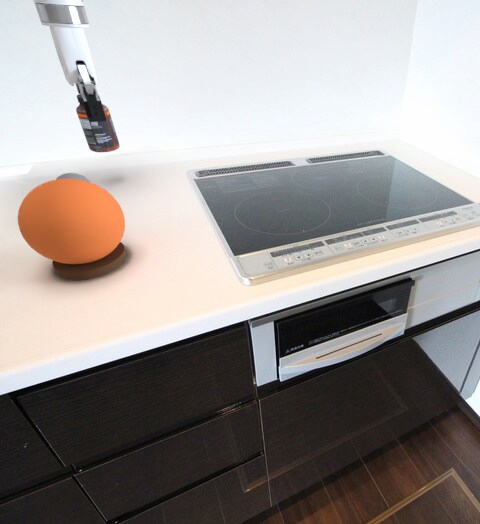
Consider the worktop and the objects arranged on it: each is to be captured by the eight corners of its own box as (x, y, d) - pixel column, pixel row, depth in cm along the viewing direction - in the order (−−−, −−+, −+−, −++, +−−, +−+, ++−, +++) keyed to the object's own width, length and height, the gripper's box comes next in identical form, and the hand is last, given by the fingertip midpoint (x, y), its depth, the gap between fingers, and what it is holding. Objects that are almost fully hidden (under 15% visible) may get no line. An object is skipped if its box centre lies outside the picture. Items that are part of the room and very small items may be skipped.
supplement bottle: (112, 143, 85) (96, 91, 79) (125, 149, 83) (110, 95, 76) (84, 148, 81) (65, 94, 75) (97, 155, 78) (79, 99, 72)
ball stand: (47, 297, 52) (-2, 211, 44) (41, 255, 60) (-2, 175, 52) (145, 268, 59) (117, 188, 51) (128, 233, 67) (101, 160, 59)
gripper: (35, 12, 71) (69, 109, 81) (41, 18, 60) (80, 129, 70) (81, 15, 75) (108, 107, 85) (94, 21, 64) (123, 125, 74)
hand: (95, 116), depth 78 cm, fingers closed on supplement bottle, 6 cm apart
